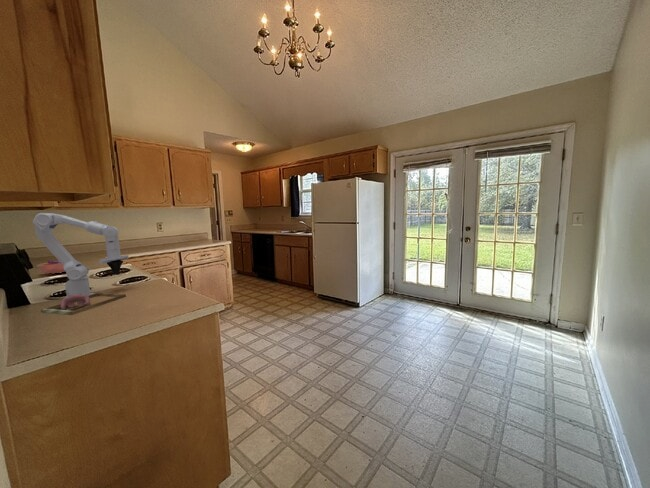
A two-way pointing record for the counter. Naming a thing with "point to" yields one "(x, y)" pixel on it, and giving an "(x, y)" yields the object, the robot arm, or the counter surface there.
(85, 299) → the video game controller
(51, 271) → the cell model
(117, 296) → the shallow wooden tray
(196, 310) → the counter surface
